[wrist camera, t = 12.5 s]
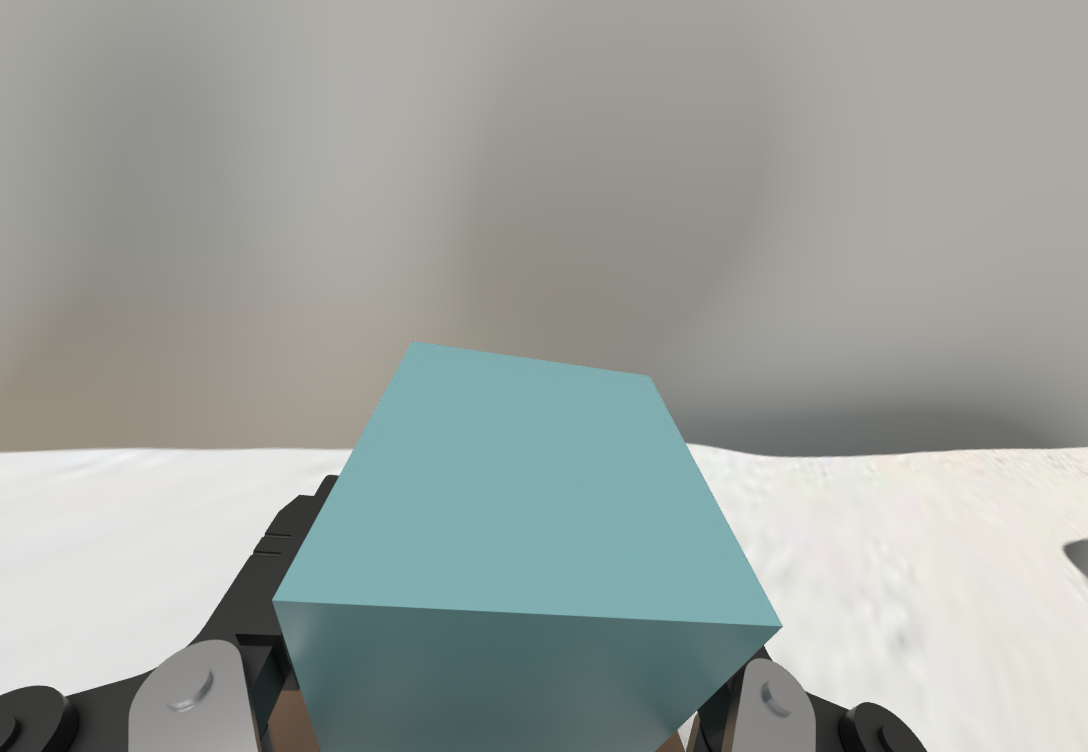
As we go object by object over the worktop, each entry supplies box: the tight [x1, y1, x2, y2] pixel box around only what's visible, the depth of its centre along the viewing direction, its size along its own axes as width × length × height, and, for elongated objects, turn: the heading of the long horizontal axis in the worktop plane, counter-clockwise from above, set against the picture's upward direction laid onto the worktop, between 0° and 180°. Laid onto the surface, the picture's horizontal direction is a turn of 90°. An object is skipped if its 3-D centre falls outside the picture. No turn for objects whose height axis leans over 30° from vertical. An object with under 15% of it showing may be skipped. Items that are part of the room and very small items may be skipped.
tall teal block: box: [272, 341, 783, 752], centre depth 10 cm, size 6×6×12 cm
